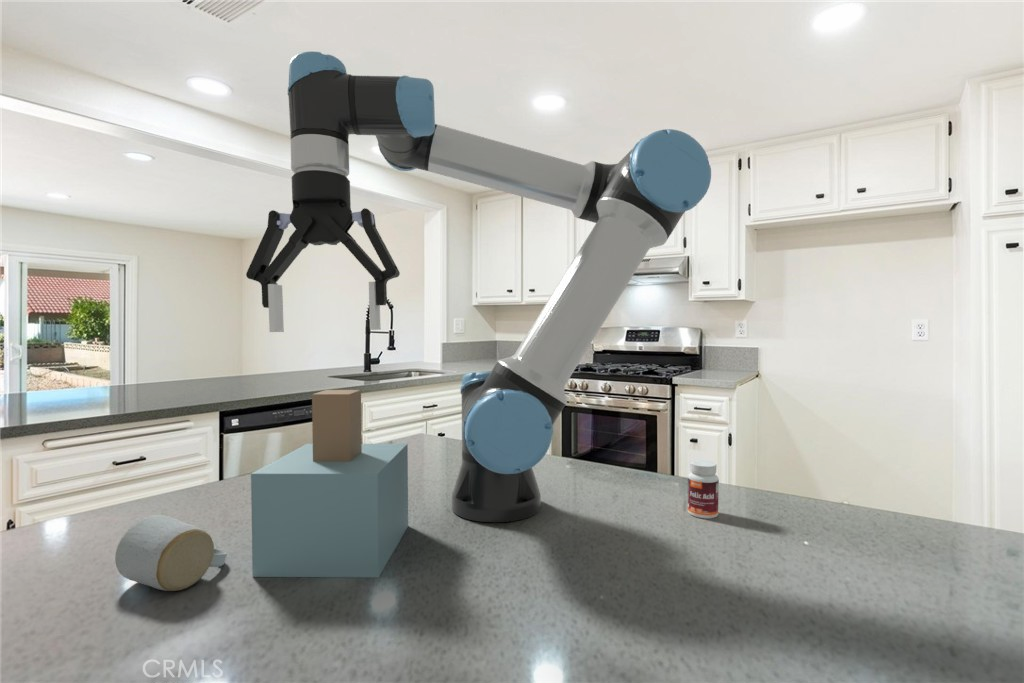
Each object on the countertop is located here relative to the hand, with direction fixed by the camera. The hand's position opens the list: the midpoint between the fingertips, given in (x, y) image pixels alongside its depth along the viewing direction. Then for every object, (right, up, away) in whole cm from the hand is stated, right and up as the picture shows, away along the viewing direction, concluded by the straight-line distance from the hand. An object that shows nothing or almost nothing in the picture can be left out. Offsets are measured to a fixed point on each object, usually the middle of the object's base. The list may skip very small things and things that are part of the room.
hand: (326, 331), depth 72 cm
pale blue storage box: (+2, -30, 0) cm, 30 cm away
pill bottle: (+57, -30, +13) cm, 66 cm away
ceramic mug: (-15, -31, -8) cm, 35 cm away
